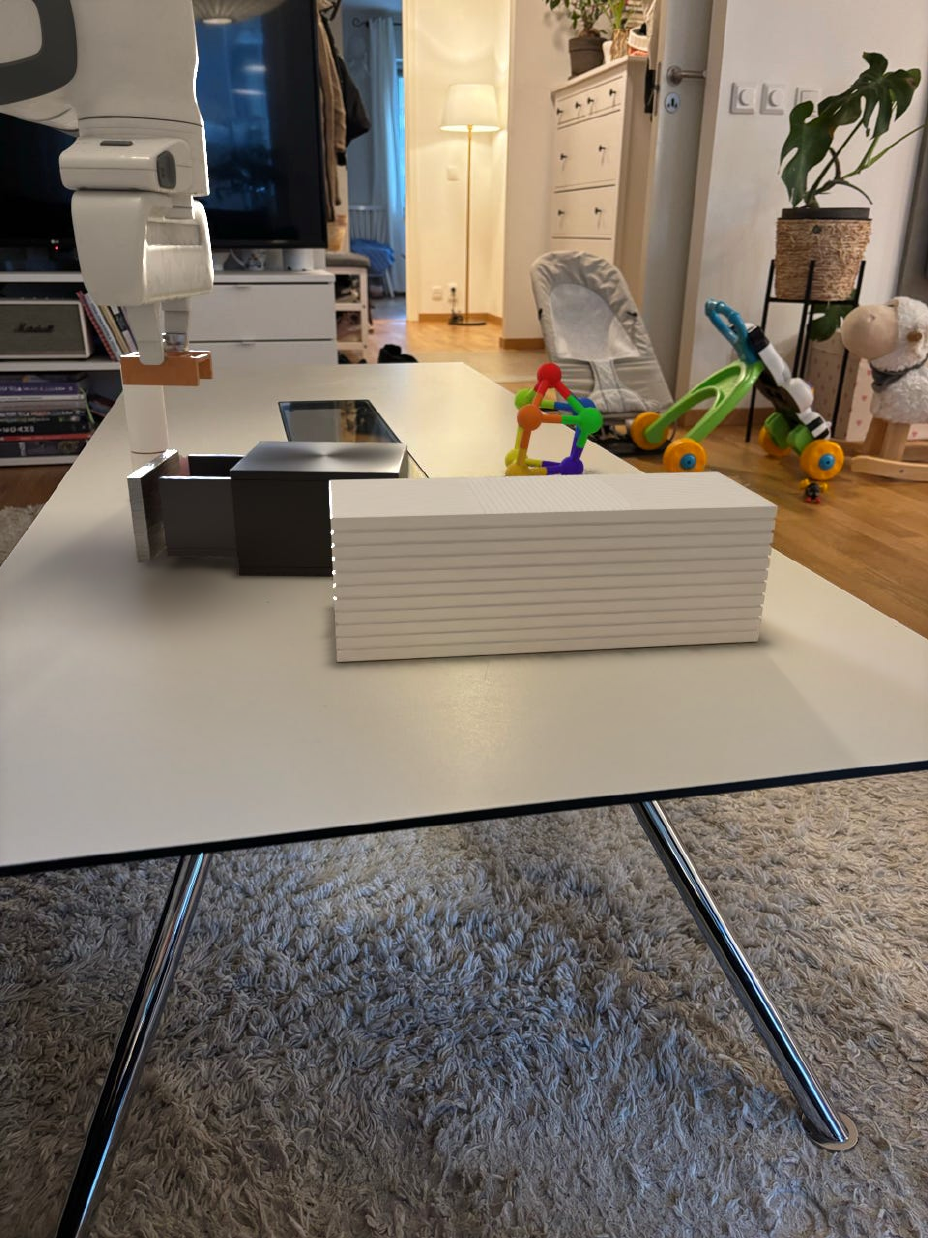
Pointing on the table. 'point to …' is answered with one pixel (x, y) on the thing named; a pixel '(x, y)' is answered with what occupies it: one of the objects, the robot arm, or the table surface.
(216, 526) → the drawer
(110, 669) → the table surface
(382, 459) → the brushed black cube
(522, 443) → the educational toy
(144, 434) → the tube
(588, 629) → the stack of papers
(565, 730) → the table surface
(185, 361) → the rack
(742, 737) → the table surface
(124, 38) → the robot arm
